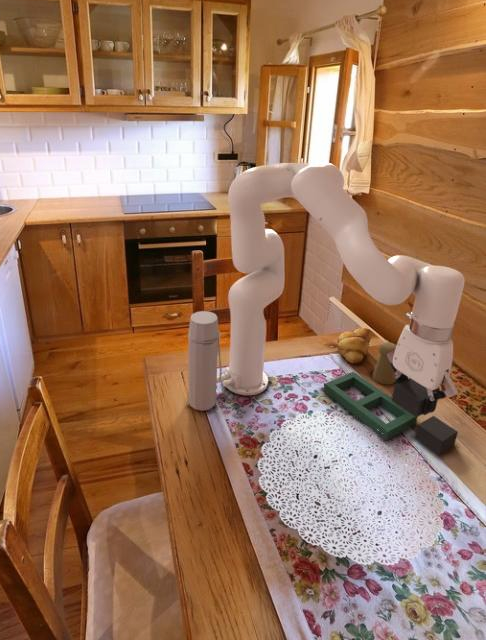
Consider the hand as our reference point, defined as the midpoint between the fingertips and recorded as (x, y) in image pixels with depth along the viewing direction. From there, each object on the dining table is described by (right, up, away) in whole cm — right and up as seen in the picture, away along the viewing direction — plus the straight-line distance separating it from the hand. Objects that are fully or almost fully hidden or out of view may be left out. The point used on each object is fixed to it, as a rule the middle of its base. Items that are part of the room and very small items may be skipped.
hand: (413, 401), depth 86 cm
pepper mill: (+6, -4, +31) cm, 32 cm away
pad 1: (0, -1, 0) cm, 1 cm away
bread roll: (+1, 0, +42) cm, 42 cm away
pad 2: (+9, -12, +8) cm, 17 cm away
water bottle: (-45, -7, +20) cm, 49 cm away
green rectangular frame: (-3, -8, +19) cm, 21 cm away
